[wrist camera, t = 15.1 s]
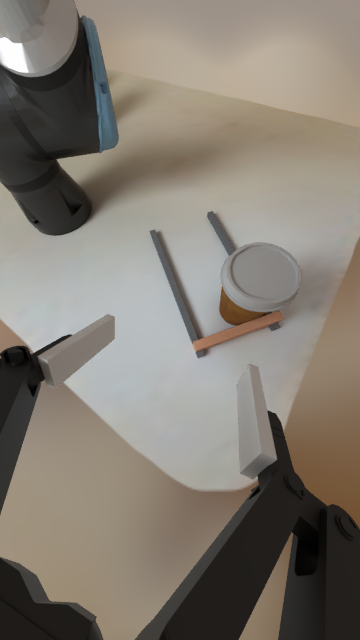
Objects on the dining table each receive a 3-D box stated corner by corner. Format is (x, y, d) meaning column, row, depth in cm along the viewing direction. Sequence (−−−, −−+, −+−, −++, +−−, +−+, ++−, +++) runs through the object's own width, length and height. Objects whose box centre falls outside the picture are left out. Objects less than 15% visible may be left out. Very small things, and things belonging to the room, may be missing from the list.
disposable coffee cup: (256, 285, 32) (292, 236, 20) (267, 332, 28) (317, 303, 17) (208, 289, 32) (217, 243, 21) (214, 335, 29) (228, 310, 18)
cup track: (150, 234, 37) (147, 223, 34) (212, 215, 38) (213, 202, 35) (197, 358, 28) (198, 356, 25) (277, 328, 29) (287, 323, 26)
